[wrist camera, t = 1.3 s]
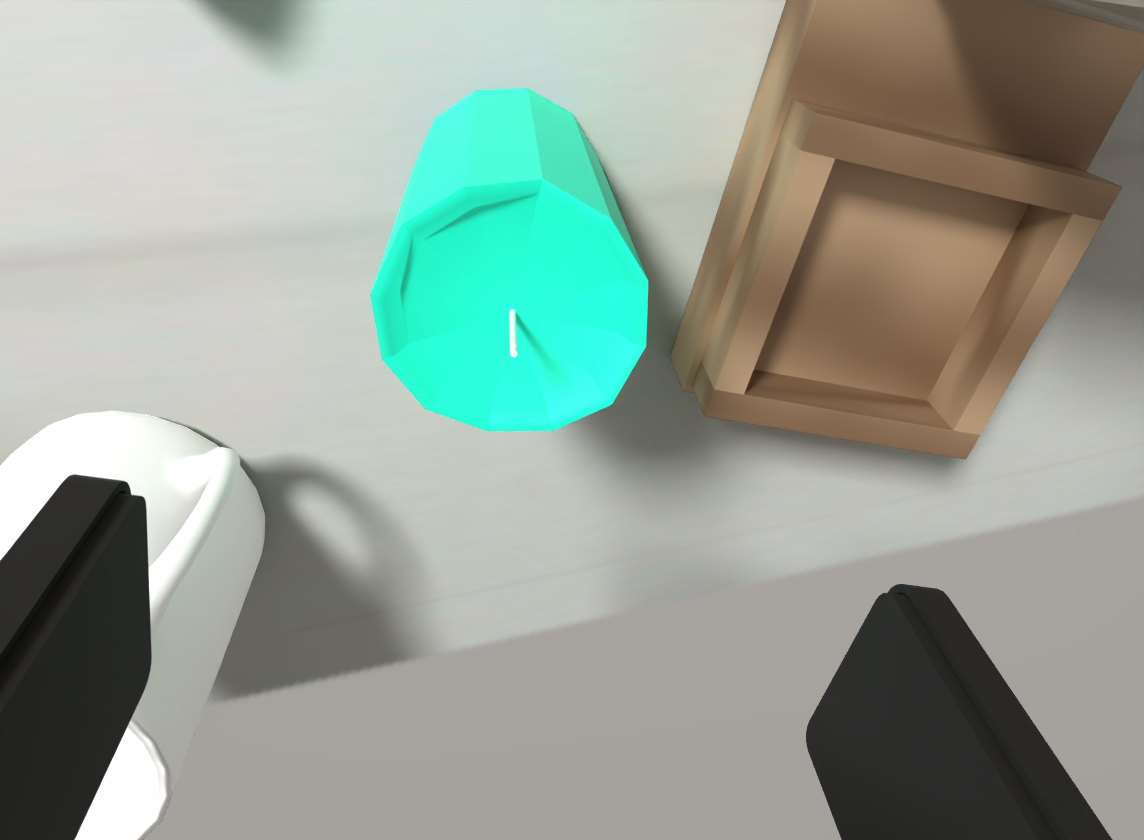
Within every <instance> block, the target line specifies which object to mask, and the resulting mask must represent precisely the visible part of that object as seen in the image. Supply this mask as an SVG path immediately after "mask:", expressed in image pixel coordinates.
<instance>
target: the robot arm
mask: <svg viewBox="0 0 1144 840" xmlns="http://www.w3.org/2000/svg"><path fill="white" fill-rule="evenodd" d="M151 662H152V652H151V623H150V595H149V566H148V537H147V509H146V501H145V498H144V497H143V496H138V495H131V490H130V486H129V484H128V483H127V482H125V481H122V480H114V479H106V478H99V477H91V476H84V475H76V474H73V475H70V476H68V477H67V478H66V479H65V480H64V481H63V482H62V483H61V485H60V486H59V487H58V488H57V490H56V491H55V492H54V493H53V495H52V496H51V497H50V498H49V500H48V501H47V502H46V504H45V505H44V506H43V507H42V509H41V510H40V511H39V512H38V514H37V515H36V516H35V517H34V519H33V520H32V521H31V522H30V524H29V525H28V526H27V528H26V529H25V530H24V531H23V533H22V534H21V535H20V536H19V538H18V539H17V540H16V541H15V543H14V544H13V545H12V546H11V548H10V549H9V550H8V552H7V553H6V554H5V555H4V557H3V558H2V559H1V560H0V840H75V838H76V836H77V834H78V832H79V830H80V828H81V825H82V823H83V821H84V819H85V817H86V815H87V813H88V810H89V808H90V806H91V804H92V802H93V800H94V798H95V795H96V793H97V791H98V789H99V787H100V785H101V783H102V780H103V778H104V776H105V774H106V772H107V770H108V768H109V765H110V763H111V761H112V759H113V757H114V755H115V753H116V750H117V748H118V746H119V744H120V742H121V740H122V738H123V735H124V733H125V731H126V729H127V727H128V725H129V723H130V720H131V718H132V716H133V714H134V712H135V710H136V708H137V705H138V703H139V701H140V699H141V697H142V695H143V693H144V690H145V688H146V685H147V682H148V678H149V674H150V670H151ZM806 742H807V748H808V752H809V754H810V757H811V759H812V762H813V765H814V768H815V770H816V773H817V776H818V778H819V781H820V784H821V786H822V788H823V791H824V794H825V797H826V799H827V802H828V805H829V807H830V810H831V812H832V815H833V818H834V821H835V823H836V826H837V829H838V831H839V834H840V836H841V839H842V840H1112V839H1111V837H1110V836H1109V834H1108V833H1107V831H1106V830H1105V828H1104V827H1103V825H1102V824H1101V822H1100V821H1099V819H1098V818H1097V816H1096V815H1095V814H1094V812H1093V810H1092V809H1091V808H1090V806H1089V805H1088V803H1087V802H1086V800H1085V799H1084V797H1083V796H1082V794H1081V793H1080V791H1079V790H1078V788H1077V787H1076V785H1075V784H1074V782H1073V781H1072V779H1071V778H1070V776H1069V775H1068V773H1067V772H1066V770H1065V769H1064V768H1063V766H1062V765H1061V763H1060V762H1059V760H1058V759H1057V757H1056V756H1055V754H1054V753H1053V751H1052V750H1051V748H1050V747H1049V745H1048V744H1047V742H1046V741H1045V740H1044V738H1043V736H1042V735H1041V734H1040V732H1039V731H1038V729H1037V728H1036V726H1035V725H1034V723H1033V722H1032V720H1031V719H1030V717H1029V716H1028V714H1027V713H1026V711H1025V710H1024V708H1023V707H1022V705H1021V704H1020V702H1019V701H1018V699H1017V698H1016V696H1015V695H1014V693H1013V692H1012V691H1011V689H1010V688H1009V686H1008V685H1007V683H1006V682H1005V680H1004V679H1003V677H1002V676H1001V674H1000V673H999V671H998V670H997V668H996V667H995V665H994V664H993V663H992V661H991V660H990V658H989V657H988V655H987V654H986V652H985V651H984V649H983V648H982V646H981V645H980V643H979V642H978V640H977V639H976V637H975V636H974V634H973V633H972V631H971V630H970V628H969V627H968V625H967V624H966V622H965V621H964V619H963V618H962V617H961V615H960V614H959V612H958V611H957V609H956V608H955V606H954V605H953V603H952V602H951V600H950V599H949V597H948V596H947V595H946V594H945V593H944V592H943V591H941V590H939V589H935V588H928V587H920V586H913V585H905V584H898V585H895V586H893V587H892V588H891V589H890V590H889V592H888V593H883V594H881V595H880V596H879V597H878V598H877V599H876V601H875V603H874V605H873V606H872V608H871V610H870V612H869V614H868V615H867V617H866V619H865V621H864V623H863V625H862V626H861V628H860V630H859V632H858V634H857V635H856V637H855V639H854V641H853V643H852V645H851V646H850V648H849V650H848V652H847V654H846V655H845V657H844V659H843V661H842V663H841V665H840V666H839V668H838V670H837V672H836V674H835V675H834V677H833V679H832V681H831V683H830V685H829V686H828V688H827V690H826V692H825V694H824V695H823V697H822V699H821V701H820V703H819V705H818V706H817V708H816V710H815V712H814V714H813V715H812V717H811V719H810V721H809V724H808V726H807V731H806Z"/></svg>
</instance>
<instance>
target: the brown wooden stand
mask: <svg viewBox="0 0 1144 840" xmlns="http://www.w3.org/2000/svg"><path fill="white" fill-rule="evenodd" d="M1143 66H1144V0H786V3H785V6H784V10H783V13H782V16H781V19H780V22H779V25H778V28H777V31H776V34H775V37H774V40H773V43H772V46H771V49H770V52H769V55H768V59H767V62H766V65H765V68H764V71H763V74H762V77H761V80H760V83H759V86H758V89H757V92H756V95H755V98H754V101H753V105H752V108H751V111H750V114H749V117H748V120H747V123H746V126H745V129H744V132H743V135H742V138H741V141H740V144H739V147H738V151H737V154H736V157H735V160H734V163H733V166H732V169H731V172H730V175H729V178H728V181H727V184H726V187H725V190H724V193H723V196H722V200H721V203H720V206H719V209H718V212H717V215H716V218H715V221H714V224H713V227H712V230H711V233H710V236H709V239H708V242H707V246H706V249H705V252H704V255H703V258H702V261H701V264H700V267H699V270H698V273H697V276H696V279H695V282H694V285H693V288H692V291H691V295H690V298H689V301H688V304H687V307H686V310H685V313H684V316H683V319H682V322H681V325H680V328H679V331H678V334H677V337H676V341H675V344H674V347H673V350H672V353H671V356H670V359H671V361H672V364H673V366H674V369H675V372H676V374H677V377H678V379H679V382H680V384H681V387H682V390H683V391H687V392H693V393H695V394H696V397H697V399H698V401H699V404H700V406H701V409H702V411H703V414H704V416H706V417H713V418H719V419H725V420H731V421H737V422H743V423H749V424H755V425H761V426H767V427H773V428H779V429H785V430H791V431H798V432H804V433H810V434H816V435H822V436H828V437H834V438H840V439H846V440H852V441H858V442H864V443H870V444H876V445H883V446H889V447H895V448H901V449H907V450H913V451H919V452H925V453H931V454H937V455H943V456H949V457H955V458H961V459H967V457H968V455H969V453H970V452H971V450H972V448H973V446H974V445H975V443H976V441H977V439H978V438H979V436H980V434H981V432H982V431H983V429H984V427H985V425H986V424H987V422H988V420H989V418H990V417H991V415H992V413H993V411H994V410H995V408H996V406H997V405H998V403H999V401H1000V399H1001V398H1002V396H1003V394H1004V392H1005V391H1006V389H1007V387H1008V385H1009V384H1010V382H1011V380H1012V378H1013V377H1014V375H1015V373H1016V371H1017V370H1018V368H1019V366H1020V364H1021V363H1022V361H1023V359H1024V357H1025V356H1026V354H1027V352H1028V350H1029V349H1030V347H1031V345H1032V343H1033V342H1034V340H1035V338H1036V336H1037V335H1038V333H1039V331H1040V329H1041V328H1042V326H1043V324H1044V322H1045V321H1046V319H1047V317H1048V315H1049V314H1050V312H1051V310H1052V308H1053V307H1054V305H1055V303H1056V301H1057V300H1058V298H1059V296H1060V294H1061V293H1062V291H1063V289H1064V287H1065V286H1066V284H1067V282H1068V280H1069V279H1070V277H1071V275H1072V274H1073V272H1074V270H1075V268H1076V267H1077V265H1078V263H1079V261H1080V260H1081V258H1082V256H1083V254H1084V253H1085V251H1086V249H1087V247H1088V246H1089V244H1090V242H1091V240H1092V239H1093V237H1094V235H1095V233H1096V232H1097V230H1098V228H1099V226H1100V225H1101V223H1102V221H1103V219H1104V218H1105V216H1106V214H1107V212H1108V211H1109V209H1110V207H1111V205H1112V204H1113V202H1114V200H1115V198H1116V197H1117V195H1118V193H1119V191H1120V190H1121V188H1122V187H1120V186H1118V185H1116V184H1114V183H1111V182H1109V181H1107V180H1104V179H1102V178H1100V177H1098V176H1095V175H1093V174H1091V173H1088V172H1086V170H1087V169H1088V167H1089V165H1090V163H1091V161H1092V159H1093V158H1094V156H1095V154H1096V152H1097V150H1098V148H1099V147H1100V145H1101V143H1102V141H1103V139H1104V137H1105V136H1106V134H1107V132H1108V130H1109V128H1110V126H1111V125H1112V123H1113V121H1114V119H1115V117H1116V115H1117V114H1118V112H1119V110H1120V108H1121V106H1122V104H1123V103H1124V101H1125V99H1126V97H1127V95H1128V93H1129V91H1130V90H1131V88H1132V86H1133V84H1134V82H1135V80H1136V79H1137V77H1138V75H1139V73H1140V71H1141V69H1142V68H1143Z"/></svg>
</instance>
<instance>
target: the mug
mask: <svg viewBox="0 0 1144 840" xmlns="http://www.w3.org/2000/svg"><path fill="white" fill-rule="evenodd" d="M73 474H76V475H84V476H91V477H99V478H106V479H114V480H122V481H125V482H127V483H128V484H129V486H130V490H131V495H138V496H143V497H144V498H145V501H146V509H147V537H148V566H149V595H150V623H151V652H152V662H151V670H150V674H149V678H148V682H147V685H146V688H145V690H144V693H143V695H142V697H141V699H140V701H139V703H138V705H137V708H136V710H135V712H134V714H133V716H132V718H131V720H130V723H129V725H128V727H127V729H126V731H125V733H124V735H123V738H122V740H121V742H120V744H119V746H118V748H117V750H116V753H115V755H114V757H113V759H112V761H111V763H110V765H109V768H108V770H107V772H106V774H105V776H104V778H103V780H102V783H101V785H100V787H99V789H98V791H97V793H96V795H95V798H94V800H93V802H92V804H91V806H90V808H89V810H88V813H87V815H86V817H85V819H84V821H83V823H82V825H81V828H80V830H79V832H78V834H77V836H76V838H75V840H144V839H145V838H146V837H147V836H148V835H149V834H150V833H151V832H152V831H153V830H154V829H155V828H156V827H157V826H158V825H159V824H160V823H161V822H162V820H163V817H164V815H165V812H166V810H167V808H168V805H169V803H170V800H171V797H172V795H173V792H174V790H175V787H176V784H177V781H178V779H179V776H180V773H181V770H182V768H183V765H184V763H185V760H186V757H187V755H188V752H189V749H190V746H191V744H192V741H193V738H194V736H195V733H196V730H197V728H198V725H199V722H200V720H201V717H202V714H203V711H204V709H205V706H206V703H207V701H208V698H209V695H210V693H211V690H212V687H213V685H214V682H215V679H216V676H217V674H218V671H219V668H220V666H221V663H222V660H223V658H224V655H225V652H226V649H227V647H228V644H229V641H230V639H231V636H232V633H233V631H234V628H235V625H236V623H237V620H238V617H239V614H240V612H241V609H242V606H243V604H244V601H245V598H246V596H247V593H248V590H249V588H250V585H251V582H252V579H253V577H254V574H255V571H256V569H257V566H258V563H259V561H260V558H261V555H262V550H263V545H264V540H265V513H264V510H263V506H262V503H261V500H260V497H259V494H258V491H257V489H256V488H255V486H254V485H253V483H252V482H251V480H250V479H249V477H248V476H247V475H246V473H245V472H244V470H243V469H242V467H241V466H240V458H239V456H238V454H237V452H236V450H233V449H229V448H224V447H219V446H218V445H217V444H215V443H213V442H211V441H210V440H208V439H206V438H205V437H203V436H201V435H199V434H198V433H196V432H194V431H192V430H191V429H189V428H187V427H185V426H182V425H179V424H176V423H173V422H170V421H167V420H164V419H161V418H158V417H155V416H152V415H145V414H138V413H130V412H122V411H105V412H94V413H82V414H78V415H75V416H72V417H69V418H66V419H63V420H61V421H58V422H55V423H52V424H50V425H48V426H47V427H46V428H44V429H43V430H42V431H40V432H39V433H37V434H36V435H35V436H33V437H32V438H31V439H29V440H28V441H27V442H25V443H24V444H23V445H22V446H21V447H19V448H18V449H17V450H16V451H14V452H13V453H12V454H11V455H10V456H9V457H8V458H7V459H6V460H5V462H4V463H3V464H2V465H1V466H0V560H1V559H2V558H3V557H4V555H5V554H6V553H7V552H8V550H9V549H10V548H11V546H12V545H13V544H14V543H15V541H16V540H17V539H18V538H19V536H20V535H21V534H22V533H23V531H24V530H25V529H26V528H27V526H28V525H29V524H30V522H31V521H32V520H33V519H34V517H35V516H36V515H37V514H38V512H39V511H40V510H41V509H42V507H43V506H44V505H45V504H46V502H47V501H48V500H49V498H50V497H51V496H52V495H53V493H54V492H55V491H56V490H57V488H58V487H59V486H60V485H61V483H62V482H63V481H64V480H65V479H66V478H67V477H68V476H70V475H73Z"/></svg>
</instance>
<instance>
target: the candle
mask: <svg viewBox="0 0 1144 840" xmlns="http://www.w3.org/2000/svg"><path fill="white" fill-rule="evenodd" d="M370 296H371V301H372V307H373V313H374V318H375V324H376V329H377V335H378V340H379V346H380V351H381V357H382V360H383V361H384V362H385V363H386V365H387V366H388V367H389V368H390V369H391V370H392V372H393V373H394V374H395V375H396V376H397V377H398V378H399V380H400V381H401V382H402V383H403V384H404V385H405V386H406V388H407V389H408V390H409V391H410V392H411V393H412V395H413V396H414V397H415V398H416V399H417V400H418V401H419V403H420V404H421V405H422V406H423V407H424V408H425V409H426V410H429V411H432V412H435V413H437V414H440V415H443V416H446V417H449V418H451V419H454V420H457V421H460V422H463V423H466V424H468V425H471V426H474V427H477V428H480V429H482V430H485V431H554V430H556V429H559V428H561V427H563V426H565V425H568V424H570V423H572V422H574V421H576V420H579V419H581V418H583V417H585V416H588V415H590V414H592V413H594V412H597V411H599V410H601V409H603V408H605V407H608V406H610V405H612V404H613V402H614V400H615V399H616V397H617V395H618V394H619V392H620V390H621V388H622V387H623V385H624V383H625V382H626V380H627V378H628V377H629V375H630V373H631V371H632V370H633V368H634V366H635V365H636V363H637V361H638V359H639V358H640V356H641V354H642V353H643V351H644V349H645V348H646V338H647V309H648V279H647V277H646V274H645V272H644V269H643V267H642V264H641V262H640V259H639V257H638V255H637V252H636V250H635V247H634V245H633V242H632V240H631V237H630V235H629V233H628V230H627V228H626V225H625V223H624V220H623V218H622V215H621V213H620V210H619V208H618V206H617V203H616V201H615V198H614V196H613V193H612V191H611V188H610V186H609V184H608V181H607V179H606V176H605V174H604V171H603V169H602V166H601V164H600V161H599V159H598V157H597V155H596V153H595V151H594V150H593V148H592V146H591V145H590V143H589V141H588V139H587V138H586V136H585V134H584V133H583V131H582V129H581V127H580V126H579V124H578V122H577V121H576V119H575V117H574V115H573V114H572V113H571V112H569V111H567V110H565V109H564V108H562V107H560V106H558V105H556V104H555V103H553V102H551V101H549V100H548V99H546V98H544V97H542V96H540V95H539V94H537V93H535V92H533V91H531V90H530V89H528V88H524V89H498V90H476V91H475V92H473V93H472V94H470V95H469V96H467V97H466V98H465V99H463V100H462V101H460V102H459V103H457V104H456V105H454V106H453V107H451V108H450V109H448V110H447V111H446V112H444V113H443V114H441V115H440V116H438V117H437V118H435V120H434V122H433V124H432V126H431V129H430V131H429V133H428V135H427V138H426V140H425V142H424V145H423V147H422V149H421V151H420V154H419V156H418V158H417V161H416V163H415V165H414V168H413V171H412V174H411V177H410V180H409V183H408V186H407V189H406V192H405V195H404V198H403V201H402V203H401V206H400V209H399V212H398V215H397V218H396V221H395V224H394V227H393V230H392V233H391V236H390V239H389V242H388V245H387V248H386V250H385V253H384V256H383V259H382V262H381V265H380V268H379V271H378V274H377V277H376V280H375V283H374V286H373V289H372V292H371V294H370Z"/></svg>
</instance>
